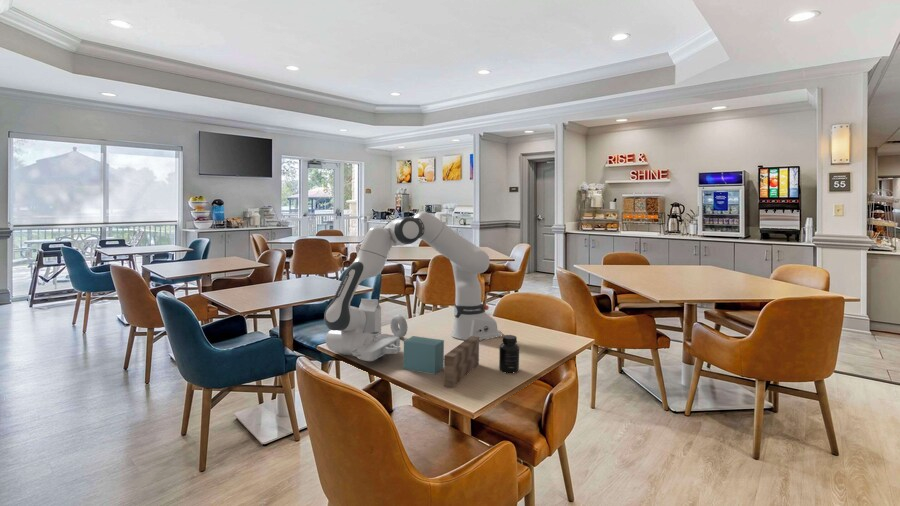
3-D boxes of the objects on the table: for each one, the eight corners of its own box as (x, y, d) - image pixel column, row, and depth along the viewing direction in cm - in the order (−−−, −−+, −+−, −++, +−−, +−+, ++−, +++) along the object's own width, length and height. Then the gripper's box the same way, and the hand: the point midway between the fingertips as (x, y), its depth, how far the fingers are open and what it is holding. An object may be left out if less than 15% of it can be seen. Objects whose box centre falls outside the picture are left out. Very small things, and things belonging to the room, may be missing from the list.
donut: (388, 335, 202) (388, 313, 201) (395, 334, 204) (395, 312, 203) (402, 341, 194) (402, 317, 193) (409, 339, 197) (409, 316, 196)
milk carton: (375, 348, 183) (374, 301, 181) (358, 347, 185) (357, 300, 183) (381, 343, 190) (381, 297, 188) (364, 342, 192) (364, 297, 190)
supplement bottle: (497, 367, 164) (498, 333, 163) (516, 366, 165) (517, 333, 164) (501, 374, 158) (501, 339, 156) (520, 373, 158) (521, 339, 157)
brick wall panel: (470, 363, 168) (471, 336, 167) (478, 364, 167) (479, 337, 166) (443, 386, 146) (444, 355, 145) (452, 388, 145) (453, 356, 144)
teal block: (403, 369, 162) (403, 341, 160) (413, 363, 168) (413, 335, 167) (435, 374, 157) (435, 345, 156) (443, 367, 163) (443, 340, 162)
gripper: (348, 344, 161) (383, 350, 156) (379, 330, 180) (411, 334, 175) (348, 362, 162) (383, 368, 157) (380, 346, 181) (411, 351, 175)
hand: (398, 350), depth 166 cm, fingers closed
